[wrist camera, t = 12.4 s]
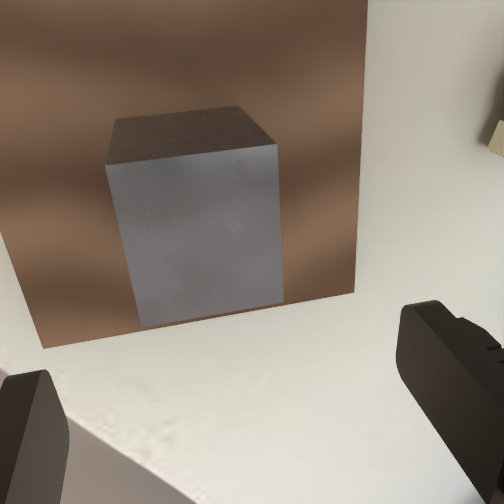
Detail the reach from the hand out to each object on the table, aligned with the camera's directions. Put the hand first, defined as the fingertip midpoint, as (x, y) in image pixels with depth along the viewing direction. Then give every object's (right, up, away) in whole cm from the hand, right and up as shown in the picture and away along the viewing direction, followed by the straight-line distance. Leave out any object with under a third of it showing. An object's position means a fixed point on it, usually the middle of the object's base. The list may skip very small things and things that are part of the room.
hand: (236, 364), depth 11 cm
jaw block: (-3, +6, +12) cm, 14 cm away
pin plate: (-3, +7, +13) cm, 15 cm away
